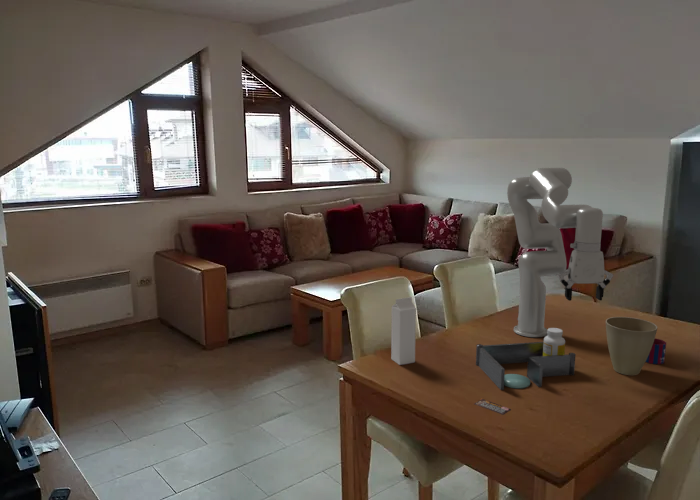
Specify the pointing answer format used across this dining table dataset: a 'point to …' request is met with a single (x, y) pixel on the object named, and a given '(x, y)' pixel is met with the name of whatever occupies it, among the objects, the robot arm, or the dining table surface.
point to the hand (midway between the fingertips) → (583, 299)
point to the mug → (657, 352)
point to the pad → (516, 381)
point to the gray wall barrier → (518, 353)
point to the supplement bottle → (554, 343)
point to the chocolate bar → (492, 406)
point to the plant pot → (629, 343)
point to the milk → (403, 331)
